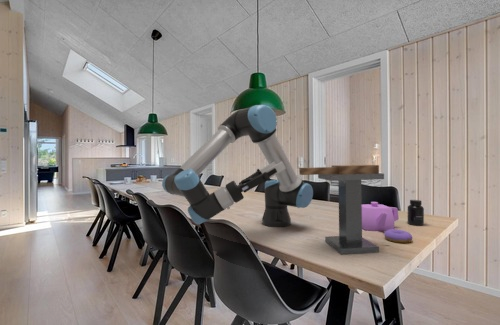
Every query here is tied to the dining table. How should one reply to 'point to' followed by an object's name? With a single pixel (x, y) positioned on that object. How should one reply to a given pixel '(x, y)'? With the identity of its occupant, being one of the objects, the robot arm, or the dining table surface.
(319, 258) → the dining table surface
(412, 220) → the supplement bottle
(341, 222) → the pedestal
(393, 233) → the donut
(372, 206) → the teakettle
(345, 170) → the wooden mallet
